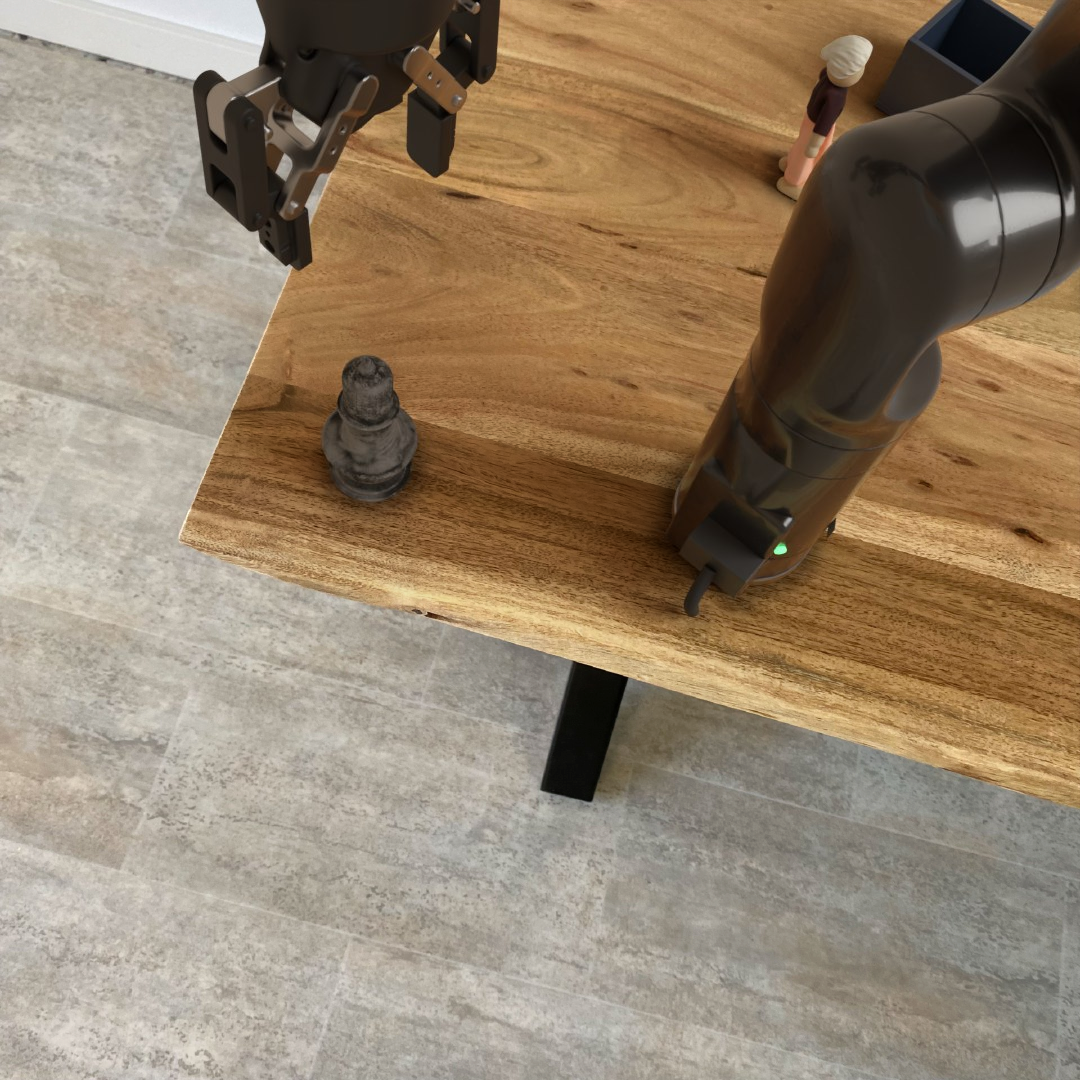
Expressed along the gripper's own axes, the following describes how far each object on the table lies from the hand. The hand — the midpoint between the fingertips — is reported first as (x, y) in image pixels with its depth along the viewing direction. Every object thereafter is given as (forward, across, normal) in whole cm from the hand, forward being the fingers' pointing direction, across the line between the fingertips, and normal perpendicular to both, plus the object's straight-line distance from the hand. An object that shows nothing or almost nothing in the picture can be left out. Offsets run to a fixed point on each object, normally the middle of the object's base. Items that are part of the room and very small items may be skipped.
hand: (361, 208), depth 50 cm
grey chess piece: (+22, -1, -1) cm, 22 cm away
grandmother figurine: (+22, +41, -4) cm, 47 cm away
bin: (+22, +58, -9) cm, 62 cm away
